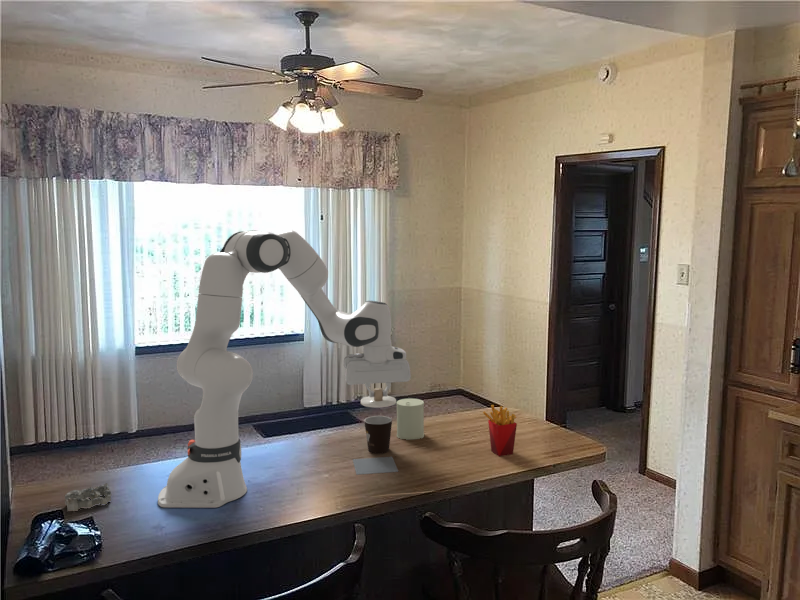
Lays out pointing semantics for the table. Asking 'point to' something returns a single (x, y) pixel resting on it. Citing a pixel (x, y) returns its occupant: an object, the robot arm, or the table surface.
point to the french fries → (501, 431)
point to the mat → (374, 465)
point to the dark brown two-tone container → (378, 433)
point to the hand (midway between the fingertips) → (378, 396)
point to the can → (410, 419)
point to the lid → (378, 400)
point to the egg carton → (79, 497)
